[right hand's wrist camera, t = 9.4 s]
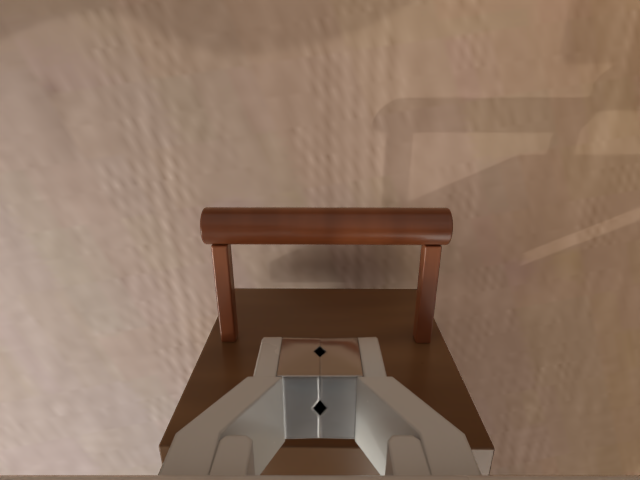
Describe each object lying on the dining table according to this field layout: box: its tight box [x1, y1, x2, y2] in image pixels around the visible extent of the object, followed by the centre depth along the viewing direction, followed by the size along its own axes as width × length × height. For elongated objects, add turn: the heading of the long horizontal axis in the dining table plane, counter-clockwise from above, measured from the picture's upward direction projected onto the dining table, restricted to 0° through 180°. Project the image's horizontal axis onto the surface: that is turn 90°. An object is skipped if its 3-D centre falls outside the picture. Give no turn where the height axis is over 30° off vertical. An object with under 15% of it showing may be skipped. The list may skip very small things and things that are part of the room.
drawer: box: [159, 207, 494, 475], centre depth 18 cm, size 24×10×10 cm, turn 0°
